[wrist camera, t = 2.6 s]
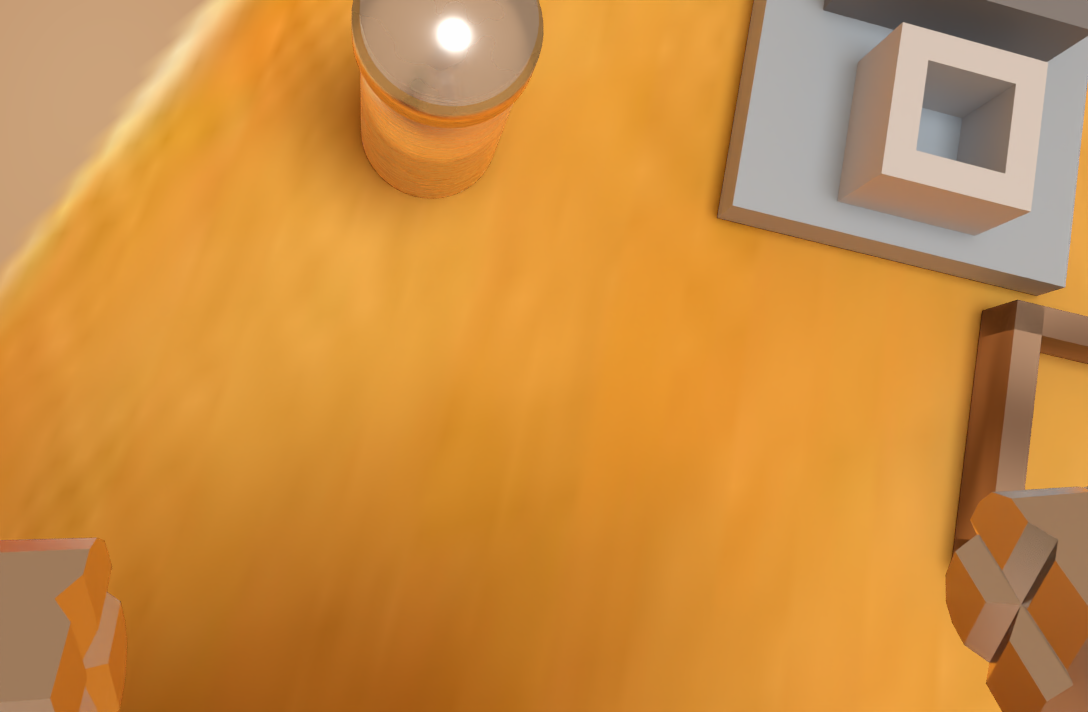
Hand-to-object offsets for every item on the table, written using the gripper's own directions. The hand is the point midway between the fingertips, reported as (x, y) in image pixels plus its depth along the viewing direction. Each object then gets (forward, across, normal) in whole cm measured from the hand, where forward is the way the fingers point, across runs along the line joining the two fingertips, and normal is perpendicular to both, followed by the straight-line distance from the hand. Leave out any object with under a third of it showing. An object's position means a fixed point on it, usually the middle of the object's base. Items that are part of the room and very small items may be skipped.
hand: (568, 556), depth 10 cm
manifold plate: (+27, -18, +5) cm, 33 cm away
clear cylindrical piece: (+25, 0, +8) cm, 26 cm away
